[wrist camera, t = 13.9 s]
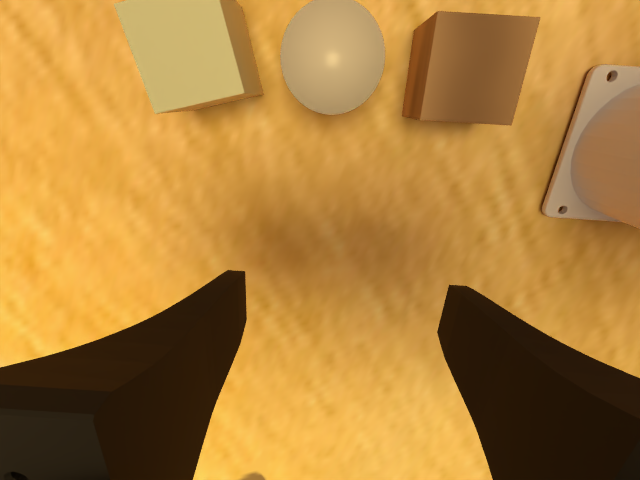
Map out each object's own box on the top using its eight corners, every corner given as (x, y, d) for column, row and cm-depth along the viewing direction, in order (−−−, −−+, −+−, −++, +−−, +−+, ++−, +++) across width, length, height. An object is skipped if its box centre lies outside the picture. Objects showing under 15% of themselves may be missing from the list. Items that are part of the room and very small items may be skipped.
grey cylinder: (374, 27, 17) (392, -1, 12) (365, 112, 18) (377, 117, 13) (294, 21, 16) (281, -8, 12) (292, 108, 18) (279, 111, 13)
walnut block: (493, 35, 17) (540, 17, 13) (474, 119, 18) (511, 125, 14) (413, 30, 17) (437, 11, 13) (401, 115, 18) (420, 119, 14)
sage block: (242, 7, 16) (213, -24, 12) (263, 94, 18) (244, 93, 14) (166, 27, 17) (113, 3, 13) (194, 110, 18) (154, 113, 14)
